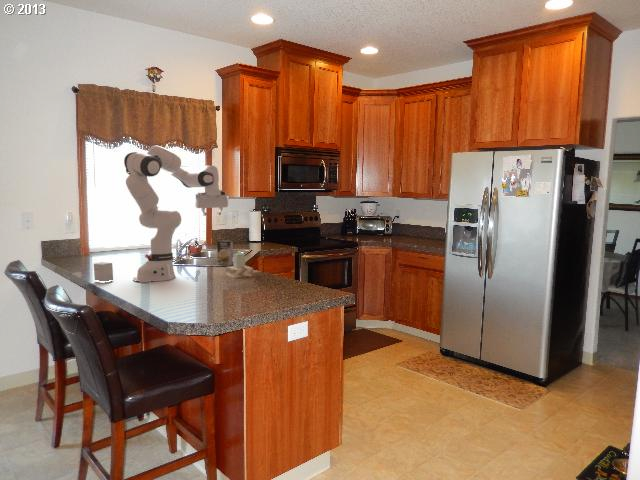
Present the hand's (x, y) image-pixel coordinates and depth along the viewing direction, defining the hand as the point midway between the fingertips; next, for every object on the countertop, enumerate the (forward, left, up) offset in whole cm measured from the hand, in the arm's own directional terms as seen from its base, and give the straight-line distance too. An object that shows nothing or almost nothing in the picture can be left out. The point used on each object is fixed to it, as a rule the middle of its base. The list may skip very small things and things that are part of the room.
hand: (212, 215), depth 288 cm
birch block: (+4, -25, -34) cm, 43 cm away
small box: (-63, +3, -34) cm, 72 cm away
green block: (+4, -25, -30) cm, 39 cm away
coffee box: (+16, +15, -34) cm, 41 cm away
